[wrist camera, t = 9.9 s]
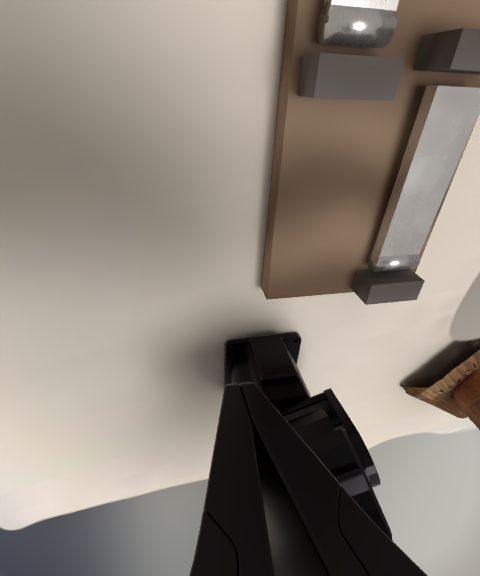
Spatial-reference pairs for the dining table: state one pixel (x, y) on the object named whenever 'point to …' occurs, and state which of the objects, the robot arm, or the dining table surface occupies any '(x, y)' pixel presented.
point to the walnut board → (354, 144)
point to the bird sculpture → (455, 391)
